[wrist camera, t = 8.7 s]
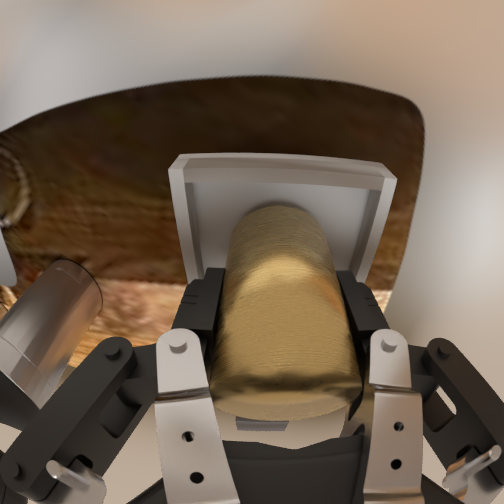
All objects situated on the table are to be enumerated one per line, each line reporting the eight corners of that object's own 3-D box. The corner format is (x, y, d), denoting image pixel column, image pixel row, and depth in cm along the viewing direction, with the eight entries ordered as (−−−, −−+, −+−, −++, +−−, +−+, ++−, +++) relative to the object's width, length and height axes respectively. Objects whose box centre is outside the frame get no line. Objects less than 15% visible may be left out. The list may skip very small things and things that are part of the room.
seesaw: (295, 400, 33) (296, 430, 29) (227, 399, 33) (225, 429, 30) (370, 152, 12) (409, 192, 9) (188, 144, 13) (158, 182, 9)
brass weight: (317, 283, 14) (338, 417, 8) (231, 281, 14) (216, 418, 8) (334, 208, 11) (387, 362, 5) (226, 204, 11) (195, 365, 6)
